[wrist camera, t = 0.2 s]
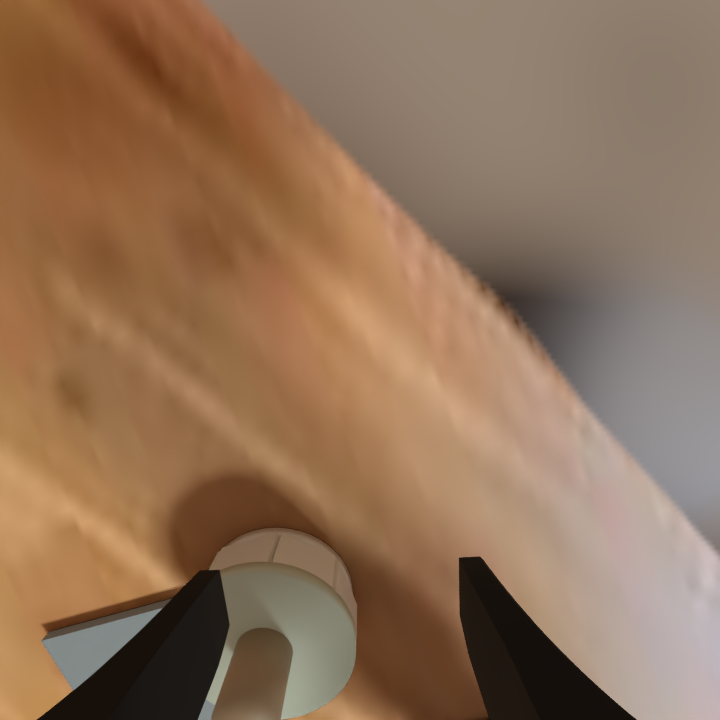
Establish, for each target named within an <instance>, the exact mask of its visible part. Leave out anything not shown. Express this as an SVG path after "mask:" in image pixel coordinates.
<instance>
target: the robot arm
mask: <svg viewBox="0 0 720 720" xmlns="http://www.w3.org/2000/svg"><path fill="white" fill-rule="evenodd" d="M459 595H460V618H461V622H462V627H463V632H464V636H465V640H466V645H467V649H468V654H469V657H470V660H471V663H472V667H473V670H474V673H475V676H476V679H477V682H478V685H479V688H480V691H481V694H482V698H483V701H484V704H485V707H486V710H487V713H488V716H489V719H490V720H636V719H635V718H634V717H633V716H631V715H630V714H629V713H628V712H627V711H625V710H624V709H623V708H622V707H621V706H619V705H618V704H617V703H616V702H615V701H614V700H613V699H612V698H610V697H609V696H608V695H607V694H606V693H605V692H604V691H602V690H601V689H600V688H599V687H598V686H597V685H596V684H595V683H594V682H593V681H592V680H590V679H589V678H588V677H587V676H586V675H585V674H584V673H583V672H582V671H581V670H580V669H579V668H578V667H577V666H576V665H575V664H574V663H573V662H572V661H571V660H570V659H569V658H568V657H567V656H566V655H565V654H564V653H563V652H562V651H561V650H560V649H559V648H558V647H557V646H556V645H555V644H554V643H553V642H552V641H551V640H550V639H549V638H548V637H547V636H546V635H545V634H544V633H543V631H542V630H541V629H540V628H539V627H538V626H537V625H536V624H535V623H534V622H533V620H532V619H531V618H530V617H529V616H528V615H527V614H526V612H525V611H524V610H523V609H522V608H521V607H520V606H519V604H518V603H517V602H516V601H515V600H514V598H513V597H512V596H511V595H510V594H509V592H508V591H507V590H506V589H505V587H504V586H503V585H502V584H501V582H500V581H499V580H498V579H497V577H496V576H495V575H494V573H493V572H492V571H491V570H490V568H489V567H488V566H487V564H486V563H485V561H484V560H483V559H482V558H481V557H463V558H459ZM229 626H230V623H229V618H228V612H227V607H226V601H225V596H224V590H223V585H222V579H221V574H220V570H203V571H199V572H198V573H197V574H196V575H195V576H194V577H193V578H192V579H191V580H190V581H189V582H188V583H187V584H186V585H185V586H184V587H183V588H182V589H181V590H180V591H179V592H178V593H177V594H176V595H175V596H174V597H173V598H172V599H171V600H170V601H169V602H168V603H167V604H166V605H165V606H164V607H163V608H162V609H161V610H160V611H159V612H158V613H157V614H156V615H155V616H154V617H153V618H152V619H151V620H150V621H149V622H148V623H147V624H146V625H145V626H144V627H143V628H142V629H141V630H140V631H139V632H138V633H137V634H136V635H135V636H134V637H133V638H132V639H131V640H130V641H128V642H127V643H126V644H125V645H124V646H123V647H122V648H121V649H120V650H119V651H118V652H117V653H116V654H114V655H113V656H112V657H111V658H110V659H109V660H108V661H107V662H106V663H105V664H104V665H103V666H101V667H100V668H99V669H98V670H97V671H96V672H95V673H94V674H92V675H91V676H90V677H89V678H88V679H87V680H85V681H84V682H83V683H82V684H81V685H80V686H78V687H77V688H76V689H75V690H73V691H72V692H71V693H70V694H69V695H67V696H66V697H65V698H64V699H63V700H61V701H60V702H59V703H58V704H56V705H55V706H54V707H53V708H51V709H50V710H49V711H48V712H46V713H45V714H44V715H42V716H41V717H40V718H38V719H37V720H198V718H199V715H200V713H201V710H202V708H203V705H204V703H205V700H206V697H207V695H208V692H209V690H210V687H211V684H212V682H213V679H214V677H215V674H216V671H217V669H218V666H219V663H220V659H221V656H222V652H223V649H224V645H225V641H226V638H227V634H228V630H229Z"/></svg>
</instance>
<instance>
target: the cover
mask: <svg viewBox="0 0 720 720" xmlns="http://www.w3.org/2000/svg"><path fill="white" fill-rule="evenodd" d="M220 574H221V579H222V585H223V590H224V596H225V601H226V607H227V612H228V618H229V623H230V626H229V630H228V634H227V638H226V641H225V645H224V649H223V652H222V656H221V659H220V663H219V666H218V669H217V671H216V674H215V677H214V679H213V682H212V684H211V687H210V690H209V692H208V695H207V697H206V700H207V701H209V702H210V703H212V704H214V705H215V707H214V710H213V713H212V717H211V720H281V719H288V718H293V717H298V716H301V715H305V714H308V713H310V712H312V711H315V710H317V709H319V708H321V707H322V706H324V705H326V704H327V703H328V702H330V701H331V700H332V699H334V698H335V697H336V696H337V695H338V694H339V693H340V692H341V691H342V689H343V688H344V687H345V685H346V684H347V682H348V680H349V678H350V677H351V674H352V671H353V669H354V665H355V659H356V629H355V623H354V620H353V617H352V614H351V612H350V610H349V608H348V606H347V605H346V603H345V602H344V600H343V599H342V597H341V596H340V595H339V594H338V593H337V592H336V591H335V590H334V589H333V588H332V587H331V586H330V585H329V584H327V583H326V582H325V581H323V580H322V579H320V578H319V577H317V576H316V575H314V574H312V573H310V572H308V571H306V570H303V569H300V568H298V567H295V566H291V565H287V564H283V563H276V562H247V563H242V564H237V565H233V566H230V567H227V568H224V569H222V570H220Z"/></svg>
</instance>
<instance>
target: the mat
mask: <svg viewBox="0 0 720 720" xmlns="http://www.w3.org/2000/svg"><path fill="white" fill-rule="evenodd" d="M170 600H171V599H168V600H164V601H161V602H157V603H153V604H150V605H146V606H142V607H139V608H135V609H131V610H128V611H124V612H120V613H117V614H113V615H109V616H106V617H102V618H99V619H95V620H91V621H88V622H84V623H80V624H77V625H73V626H69V627H66V628H62V629H58V630H55V631H51V632H49V633H48V634H47V635H46V636H45V637H44V638H43V639H42V643H43V645H44V646H45V648H46V649H47V651H48V652H49V654H50V655H51V657H52V658H53V660H54V661H55V663H56V665H57V666H58V668H59V669H60V671H61V672H62V674H63V675H64V677H65V678H66V680H67V682H68V683H69V685H70V686H71V688H72V689H73V690H75V689H76V688H77V687H78V686H80V685H81V684H82V683H83V682H84V681H85V680H87V679H88V678H89V677H90V676H91V675H92V674H94V673H95V672H96V671H97V670H98V669H99V668H100V667H101V666H103V665H104V664H105V663H106V662H107V661H108V660H109V659H110V658H111V657H112V656H113V655H114V654H116V653H117V652H118V651H119V650H120V649H121V648H122V647H123V646H124V645H125V644H126V643H127V642H128V641H130V640H131V639H132V638H133V637H134V636H135V635H136V634H137V633H138V632H139V631H140V630H141V629H142V628H143V627H144V626H145V625H146V624H147V623H148V622H149V621H150V620H151V619H152V618H153V617H154V616H155V615H156V614H157V613H158V612H159V611H160V610H161V609H162V608H163V607H164V606H165V605H166V604H167V603H168V602H169V601H170ZM214 707H215V705H214V704H212V703H210V702H209V701H207V700H205V703H204V705H203V708H202V710H201V713H200V715H199V718H198V720H211V717H212V713H213V710H214Z"/></svg>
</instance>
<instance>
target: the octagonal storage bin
mask: <svg viewBox="0 0 720 720" xmlns="http://www.w3.org/2000/svg"><path fill="white" fill-rule="evenodd" d="M247 562H276V563H283V564H287V565H291V566H295V567H298V568H300V569H303V570H306V571H308V572H310V573H312V574H314V575H316V576H317V577H319V578H320V579H322V580H323V581H325V582H326V583H327V584H329V585H330V586H331V587H332V588H333V589H334V590H335V591H336V592H337V593H338V594H339V595H340V596H341V597H342V599H343V600H344V602H345V603H346V605H347V606H348V608H349V610H350V612H351V614H352V617H353V620H354V623H355V629H356V640H357V603H356V601H355V598H354V596H353V593H352V582H351V578H350V574H349V572H348V570H347V567H346V565H345V564H344V562H343V561H342V559H341V558H340V557H339V555H338V554H337V553H336V552H335V551H334V550H333V549H332V548H331V547H329V546H328V545H327V544H326V543H324V542H323V541H321V540H320V539H318V538H316V537H314V536H312V535H310V534H307V533H304V532H302V531H297V530H293V529H287V528H264V529H259V530H254V531H251V532H248V533H245V534H243V535H241V536H239V537H237V538H235V539H234V540H232V541H231V542H230V543H228V544H227V545H226V546H225V547H223V548H222V549H221V551H218V552H217V554H216V556H215V558H214V560H213V562H212V564H211V566H210V568H209V570H222V569H224V568H227V567H230V566H233V565H237V564H242V563H247Z"/></svg>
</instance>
